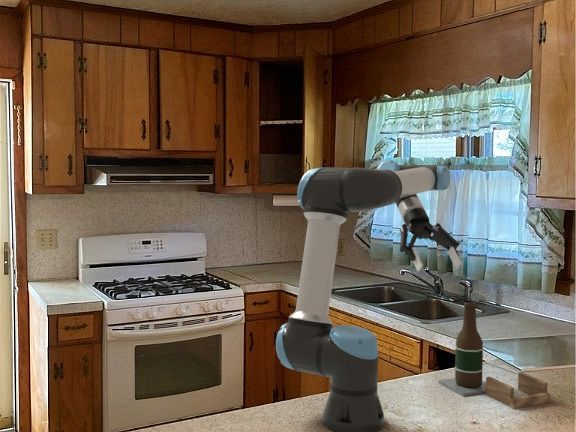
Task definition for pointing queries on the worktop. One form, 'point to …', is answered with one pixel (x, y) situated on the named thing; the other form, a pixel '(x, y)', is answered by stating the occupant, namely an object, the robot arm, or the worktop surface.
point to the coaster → (462, 390)
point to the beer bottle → (469, 351)
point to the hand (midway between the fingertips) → (440, 267)
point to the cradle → (525, 384)
